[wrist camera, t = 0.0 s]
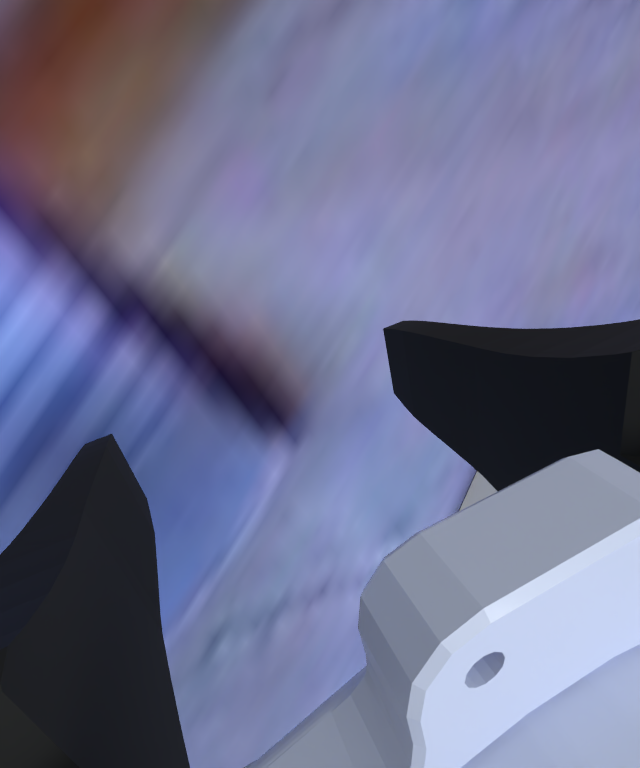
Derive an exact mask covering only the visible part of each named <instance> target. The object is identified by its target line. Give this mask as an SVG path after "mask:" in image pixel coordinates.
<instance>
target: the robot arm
mask: <svg viewBox="0 0 640 768" xmlns="http://www.w3.org/2000/svg"><path fill="white" fill-rule="evenodd" d="M383 330H384V336H385V342H386V348H387V354H388V360H389V366H390V372H391V378H392V384H393V390H394V394H395V395H396V396H397V397H398V399H399V400H400V401H401V402H402V404H403V405H404V406H405V407H406V408H407V409H408V410H409V412H410V413H411V414H412V415H413V416H414V417H415V418H416V419H417V420H418V421H419V422H421V423H422V424H423V425H424V426H425V427H426V428H428V429H429V430H430V431H431V432H432V433H433V434H435V435H436V436H437V437H438V438H439V439H441V440H442V441H443V442H444V443H445V444H446V445H448V446H449V447H450V448H451V449H452V450H454V451H455V452H456V453H457V454H458V455H460V456H461V457H462V458H463V459H464V460H466V461H467V462H468V463H469V464H470V465H471V466H473V467H474V468H475V469H476V470H477V471H478V472H479V473H480V474H481V475H482V476H483V477H484V478H485V479H486V480H487V481H488V482H489V483H490V484H491V485H492V486H493V487H494V488H495V489H496V490H497V492H496V493H494V494H492V495H490V496H488V497H486V498H484V499H482V500H480V501H478V502H476V503H474V504H472V505H471V506H469V507H467V508H465V509H463V510H461V511H459V512H457V513H455V514H453V515H451V516H449V517H447V518H445V519H443V520H441V521H439V522H437V523H435V524H433V525H431V526H430V527H428V528H426V529H424V530H422V531H420V532H418V533H416V534H415V535H413V536H412V537H411V538H409V539H408V540H407V541H405V542H404V543H403V544H401V545H400V546H399V547H397V548H396V549H395V550H393V551H392V552H391V553H389V554H388V555H387V556H386V557H384V559H383V560H382V562H381V563H380V565H379V566H378V568H377V569H376V571H375V572H374V574H373V576H372V577H371V579H370V580H369V582H368V583H367V585H366V586H365V588H364V590H363V592H362V594H361V597H360V609H359V621H358V629H359V633H360V636H361V639H362V643H363V646H364V650H365V653H366V661H367V666H365V667H364V668H363V669H362V670H361V671H360V672H359V673H357V674H356V675H355V676H354V677H353V678H352V679H350V680H349V681H348V682H347V683H346V684H345V685H343V686H342V687H341V688H340V689H339V690H338V691H337V692H335V693H334V694H333V695H332V696H331V697H330V698H328V699H327V700H326V701H325V702H324V703H323V704H321V705H320V706H319V707H318V708H317V709H316V710H314V711H313V712H312V713H311V714H310V715H309V716H308V717H306V718H305V719H304V720H303V721H302V722H301V723H299V724H298V725H297V726H296V727H295V728H294V729H292V730H291V731H290V732H289V733H288V734H287V735H286V736H284V737H283V738H282V739H281V740H280V741H279V742H277V743H276V744H275V745H274V746H273V747H272V748H270V749H269V750H268V751H267V752H266V753H265V754H264V755H262V756H261V757H260V758H259V759H258V760H256V761H254V762H252V763H251V764H249V765H247V766H246V767H244V768H640V320H634V321H627V322H621V323H613V324H605V325H595V326H583V327H572V328H553V329H511V328H493V327H479V326H468V325H458V324H448V323H438V322H428V321H402V322H399V323H397V324H394V325H391V326H389V327H386V328H384V329H383ZM0 768H190V766H189V761H188V757H187V752H186V748H185V743H184V739H183V734H182V730H181V725H180V721H179V716H178V711H177V706H176V701H175V696H174V692H173V687H172V682H171V677H170V672H169V666H168V661H167V656H166V650H165V645H164V640H163V634H162V625H161V617H160V603H159V588H158V573H157V558H156V545H155V533H154V528H153V524H152V519H151V514H150V510H149V506H148V502H147V498H146V496H145V494H144V493H143V491H142V489H141V487H140V485H139V483H138V481H137V480H136V478H135V476H134V474H133V472H132V470H131V468H130V467H129V465H128V463H127V461H126V459H125V457H124V455H123V454H122V452H121V450H120V448H119V446H118V444H117V442H116V441H115V439H114V437H113V435H112V434H110V435H108V436H105V437H102V438H100V439H97V440H95V441H92V442H89V443H87V444H85V445H84V446H83V447H82V448H81V450H80V451H79V453H78V454H77V455H76V457H75V458H74V460H73V461H72V463H71V464H70V465H69V467H68V468H67V470H66V471H65V473H64V474H63V476H62V477H61V479H60V480H59V482H58V483H57V484H56V486H55V487H54V489H53V490H52V492H51V493H50V494H49V496H48V497H47V499H46V500H45V501H44V502H43V504H42V505H41V506H40V508H39V509H38V510H37V511H36V513H35V514H34V515H33V517H32V518H31V519H30V521H29V522H28V523H27V524H26V526H25V527H24V528H23V530H22V531H21V532H20V533H19V534H18V536H17V537H16V538H15V539H14V540H13V541H12V542H11V544H10V545H9V546H8V547H7V548H6V549H5V550H4V551H3V552H2V554H1V555H0Z"/></svg>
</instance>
